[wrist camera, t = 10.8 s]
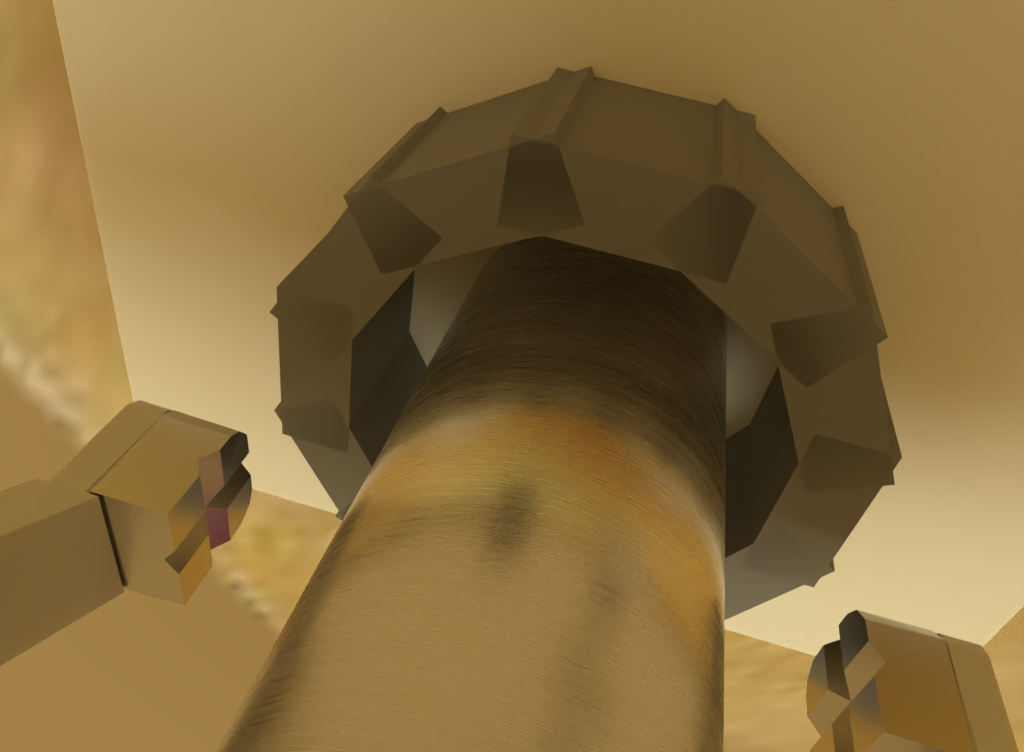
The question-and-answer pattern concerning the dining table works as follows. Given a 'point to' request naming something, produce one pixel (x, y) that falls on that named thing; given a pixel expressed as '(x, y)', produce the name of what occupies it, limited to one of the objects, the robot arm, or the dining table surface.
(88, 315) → the dining table surface
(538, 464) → the cylinder
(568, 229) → the ring block
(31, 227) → the dining table surface
